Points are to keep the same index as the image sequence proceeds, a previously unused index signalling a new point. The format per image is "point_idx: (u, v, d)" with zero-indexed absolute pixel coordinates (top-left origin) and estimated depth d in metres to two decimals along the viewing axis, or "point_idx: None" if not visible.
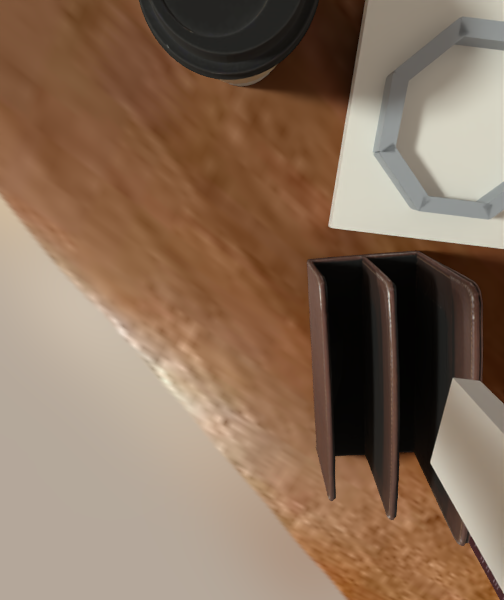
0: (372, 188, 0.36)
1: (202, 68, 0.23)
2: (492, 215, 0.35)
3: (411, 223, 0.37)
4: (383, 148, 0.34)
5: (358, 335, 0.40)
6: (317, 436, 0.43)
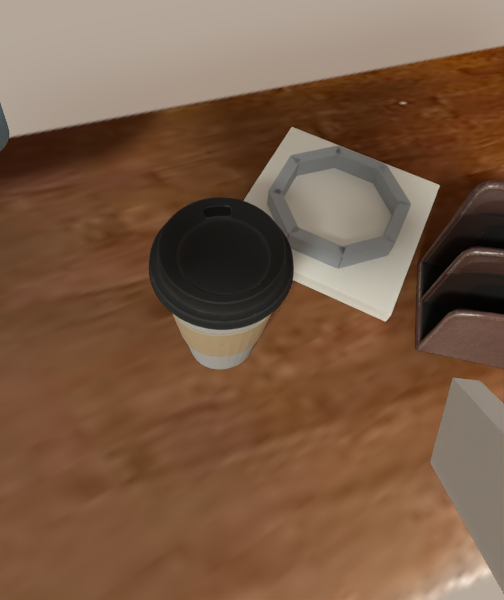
0: (364, 276, 0.43)
1: (279, 296, 0.28)
2: (408, 201, 0.46)
3: (399, 257, 0.45)
4: (340, 253, 0.42)
5: None
6: None
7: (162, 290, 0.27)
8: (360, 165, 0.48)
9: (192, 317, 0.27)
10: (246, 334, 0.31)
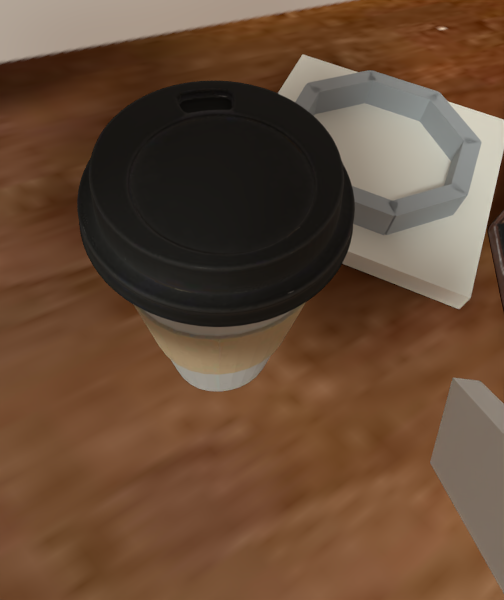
0: (424, 244, 0.30)
1: (336, 256, 0.14)
2: (477, 138, 0.32)
3: (470, 217, 0.31)
4: (391, 211, 0.28)
5: None
6: None
7: (101, 252, 0.13)
8: (403, 95, 0.34)
9: (163, 303, 0.13)
10: (267, 335, 0.17)
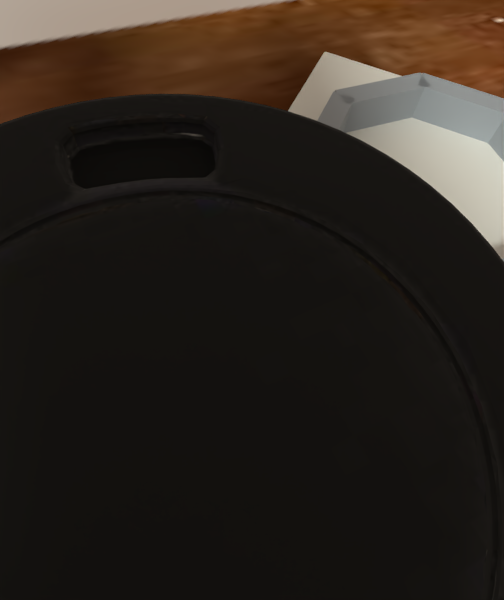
0: None
1: None
2: None
3: None
4: None
5: None
6: None
7: None
8: (468, 107, 0.25)
9: None
10: None
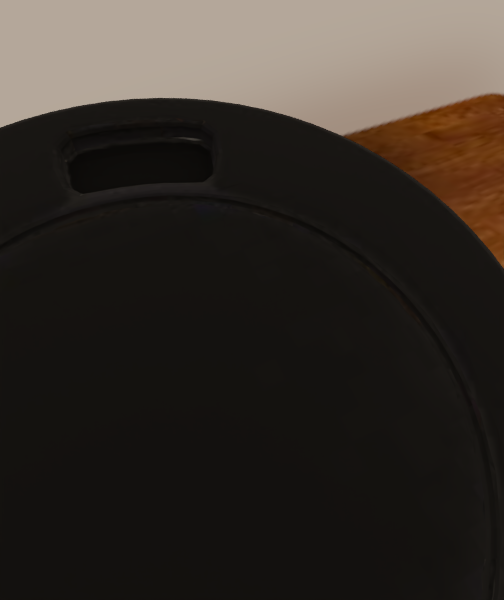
0: None
1: None
2: None
3: None
4: None
5: None
6: None
7: None
8: None
9: None
10: None
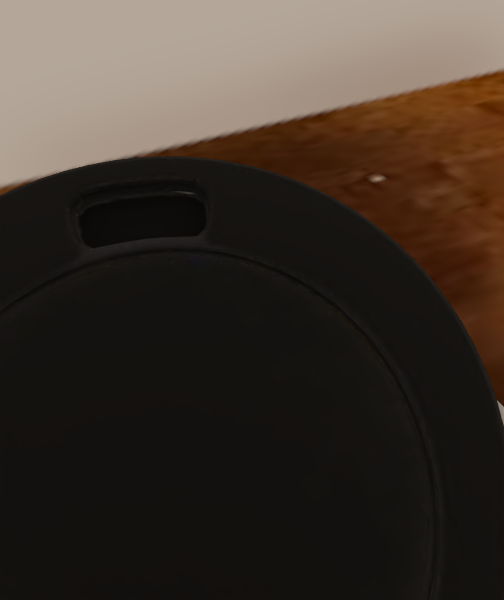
0: None
1: None
2: None
3: None
4: None
5: None
6: None
7: None
8: None
9: None
10: None
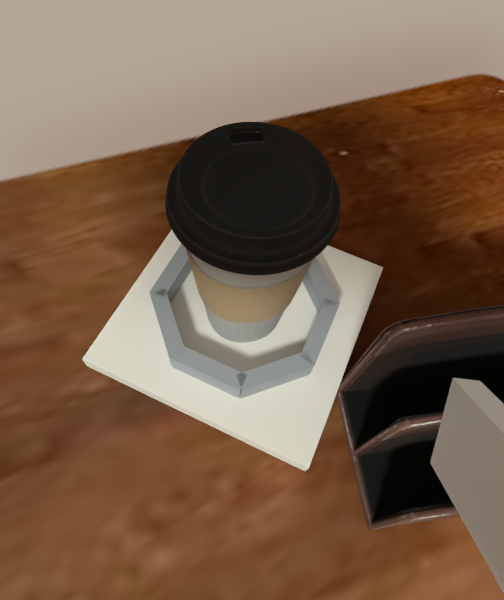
0: (276, 408, 0.32)
1: (327, 233, 0.23)
2: (336, 300, 0.34)
3: (325, 377, 0.34)
4: (238, 384, 0.31)
5: None
6: None
7: (184, 228, 0.22)
8: None
9: (223, 259, 0.22)
10: (282, 289, 0.26)
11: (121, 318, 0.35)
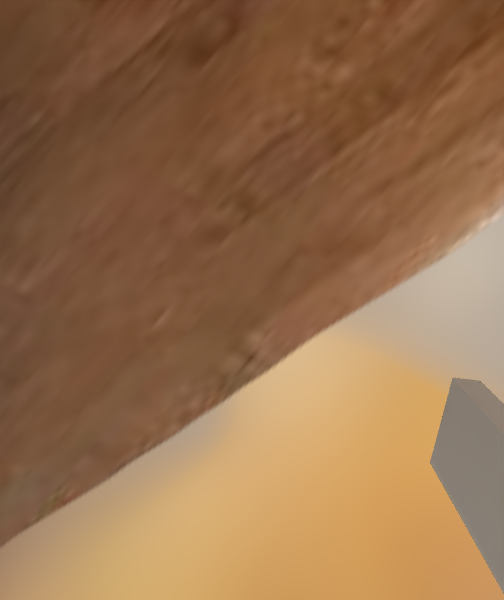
0: None
1: None
2: None
3: None
4: None
5: None
6: None
7: None
8: None
9: None
10: None
11: None
